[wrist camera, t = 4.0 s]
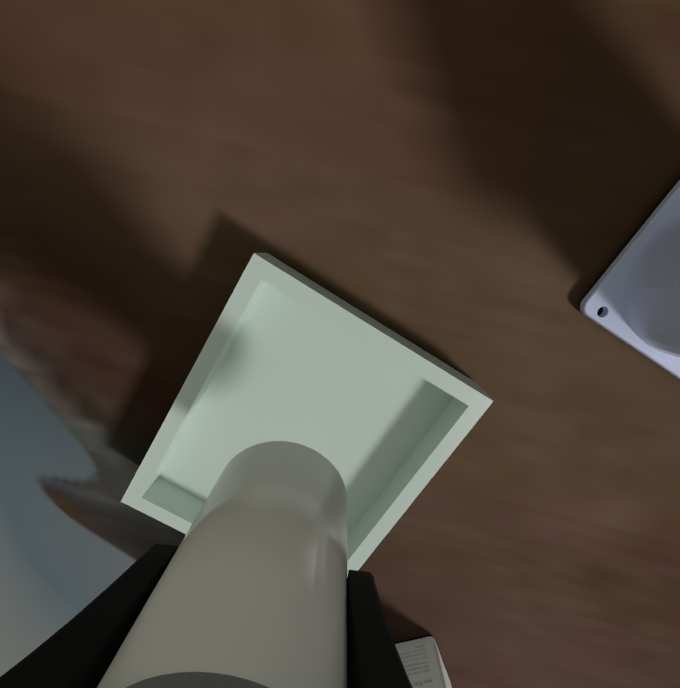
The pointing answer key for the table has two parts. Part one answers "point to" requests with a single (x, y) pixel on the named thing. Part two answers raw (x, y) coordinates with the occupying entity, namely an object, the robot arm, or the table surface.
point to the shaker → (251, 584)
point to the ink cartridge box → (423, 663)
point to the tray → (308, 405)
